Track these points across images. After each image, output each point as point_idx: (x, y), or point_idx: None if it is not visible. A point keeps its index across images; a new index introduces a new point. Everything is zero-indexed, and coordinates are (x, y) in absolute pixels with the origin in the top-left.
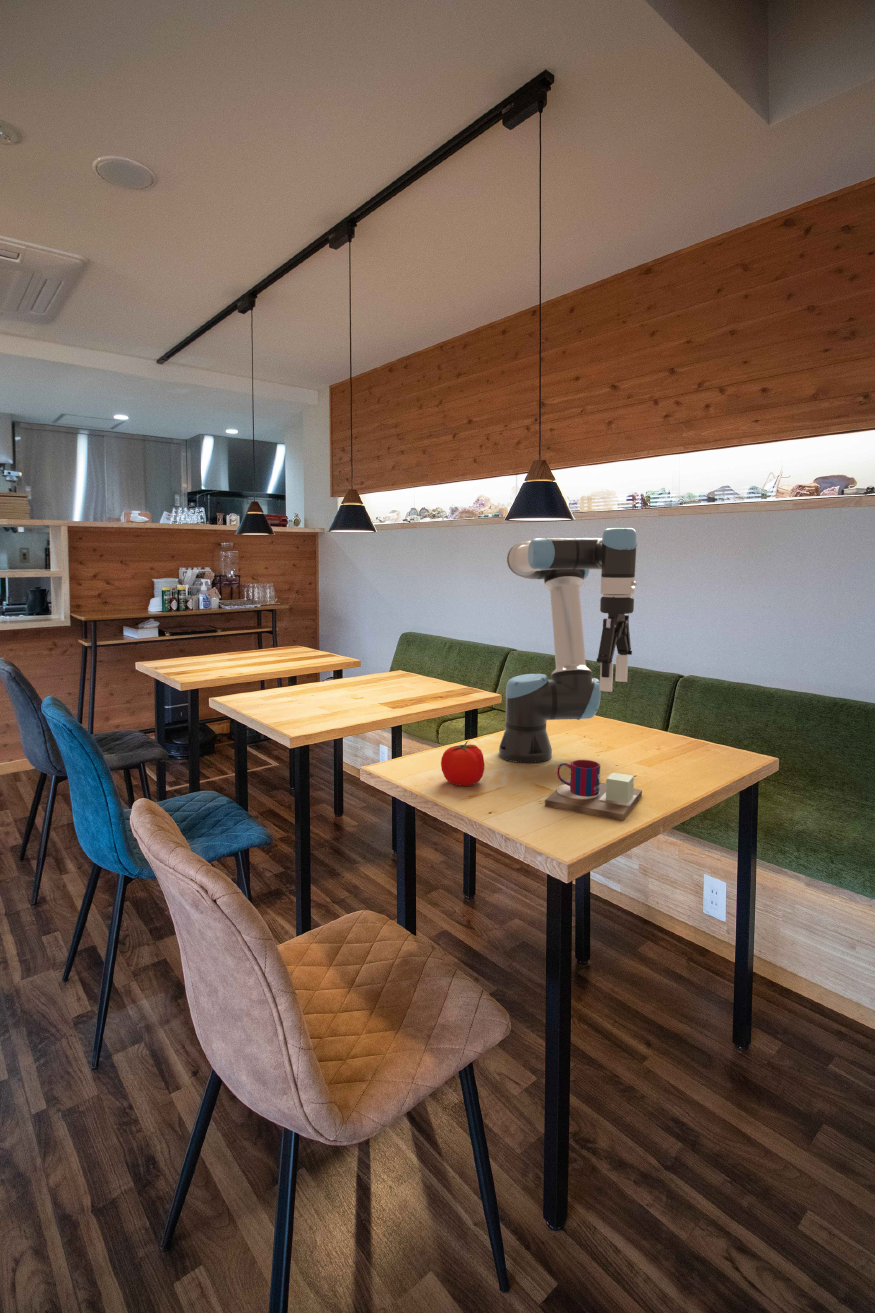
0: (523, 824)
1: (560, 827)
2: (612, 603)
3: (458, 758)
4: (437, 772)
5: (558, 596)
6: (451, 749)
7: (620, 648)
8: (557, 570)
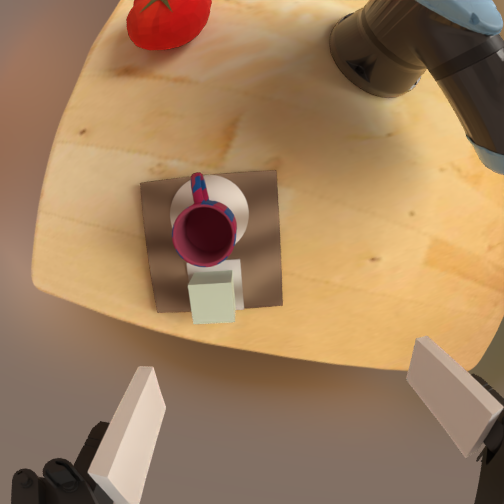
0: (71, 193)
1: (89, 241)
2: None
3: (128, 15)
4: None
5: None
6: None
7: (496, 462)
8: None
